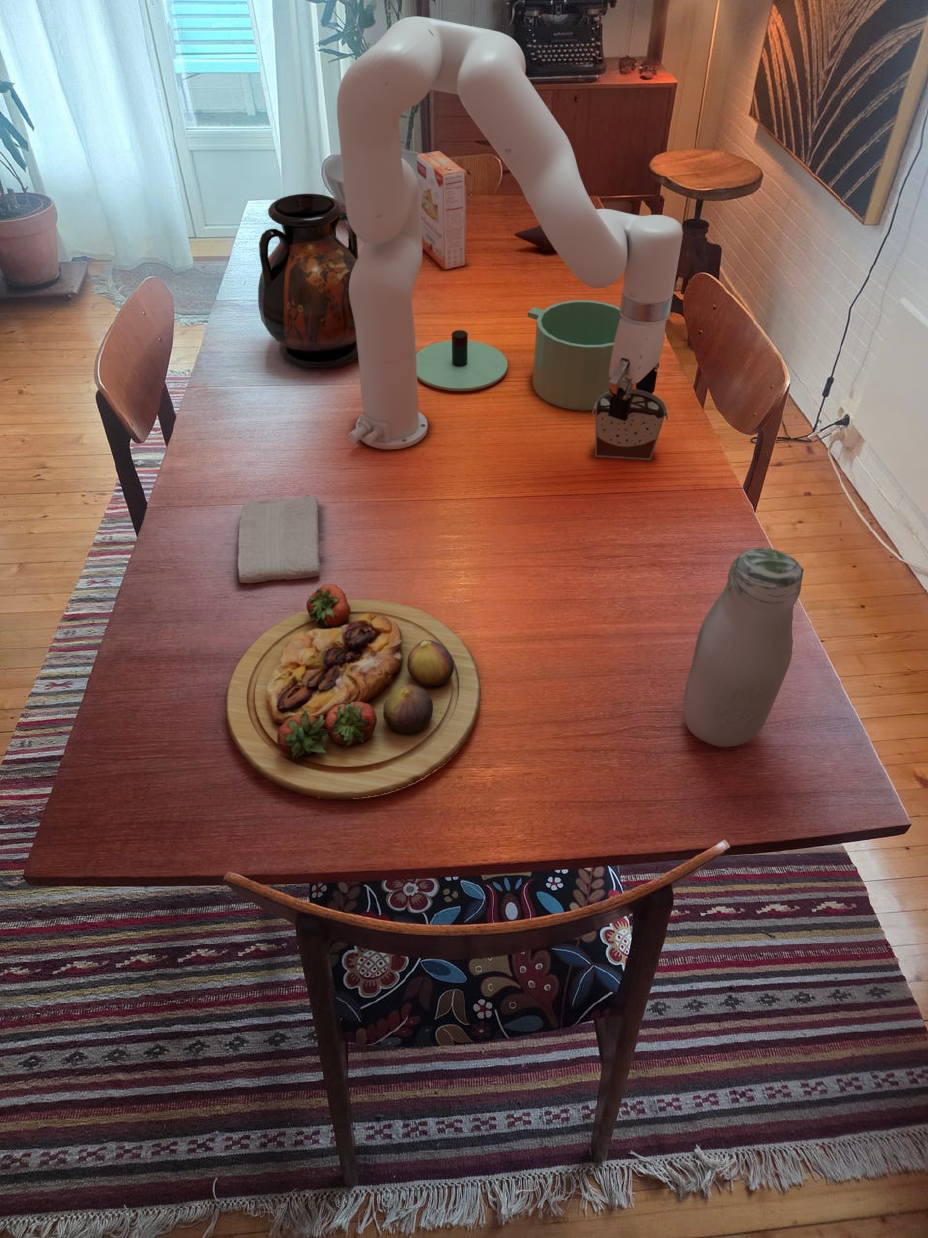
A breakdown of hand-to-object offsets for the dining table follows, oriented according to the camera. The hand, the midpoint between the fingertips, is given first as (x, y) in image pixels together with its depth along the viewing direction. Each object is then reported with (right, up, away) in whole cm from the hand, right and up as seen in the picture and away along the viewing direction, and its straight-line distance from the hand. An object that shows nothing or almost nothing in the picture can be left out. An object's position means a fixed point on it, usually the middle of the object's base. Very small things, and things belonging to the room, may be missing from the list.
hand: (631, 403), depth 145 cm
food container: (0, -6, +6) cm, 9 cm away
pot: (-6, +9, +21) cm, 23 cm away
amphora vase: (-56, +17, +29) cm, 65 cm away
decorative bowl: (-48, +66, +77) cm, 112 cm away
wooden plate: (-41, -46, -33) cm, 70 cm away
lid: (-28, +13, +24) cm, 40 cm away
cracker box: (-33, +49, +60) cm, 84 cm away
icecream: (-8, +52, +63) cm, 82 cm away
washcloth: (-55, -24, -12) cm, 61 cm away
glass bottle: (+3, -49, -36) cm, 61 cm away
